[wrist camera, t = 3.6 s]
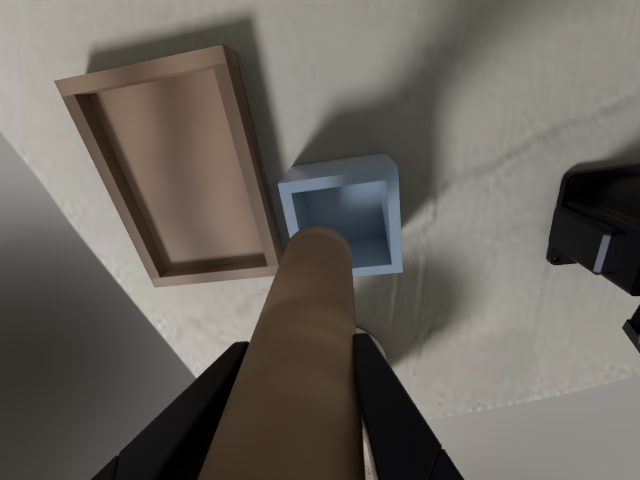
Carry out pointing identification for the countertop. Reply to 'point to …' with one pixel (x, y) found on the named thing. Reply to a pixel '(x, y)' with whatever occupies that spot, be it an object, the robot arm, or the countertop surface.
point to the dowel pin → (297, 375)
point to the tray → (181, 164)
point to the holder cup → (350, 207)
